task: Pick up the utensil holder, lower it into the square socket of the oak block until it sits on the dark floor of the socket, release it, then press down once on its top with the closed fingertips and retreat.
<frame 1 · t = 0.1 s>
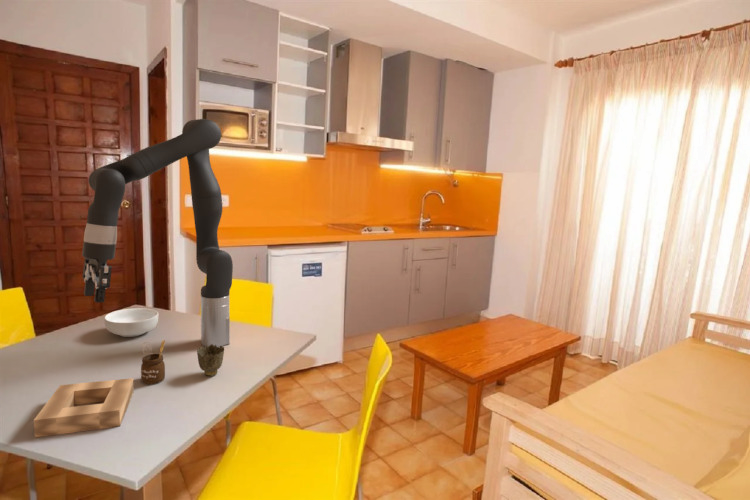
hand: (93, 298, 115), 22 cm above the table, tool pointing down, fingers open, 8 cm apart
utensil holder: (153, 380, 117), on the table
cereal bowl: (132, 333, 150), on the table
cup: (210, 375, 122), on the table
oak socket block: (89, 412, 100), on the table
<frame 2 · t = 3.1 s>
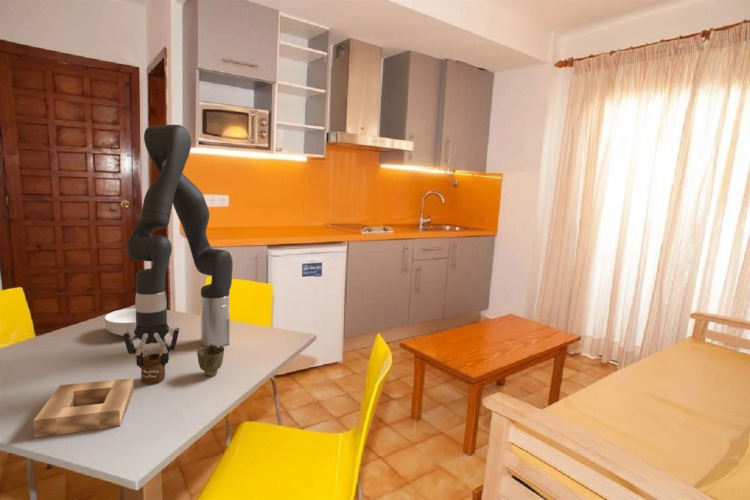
hand: (152, 365, 116), 4 cm above the table, tool pointing down, fingers closed on utensil holder, 5 cm apart
utensil holder: (153, 380, 117), on the table, touching gripper
everything else where it was.
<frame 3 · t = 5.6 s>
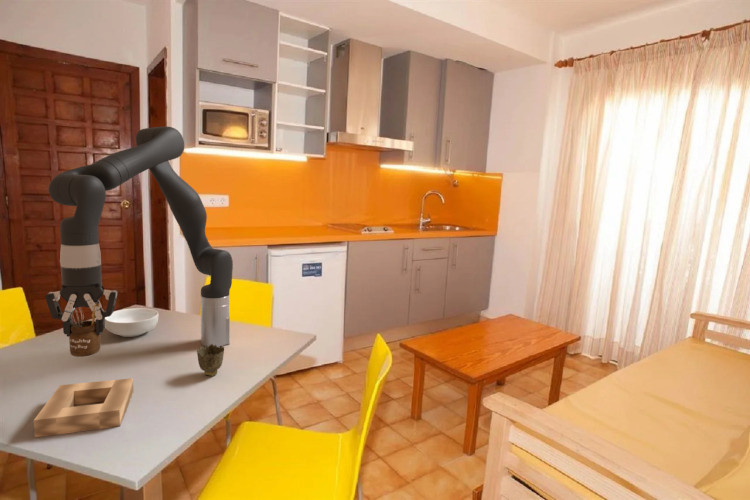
hand: (84, 334, 97), 20 cm above the table, tool pointing down, fingers closed on utensil holder, 5 cm apart
utensil holder: (86, 353, 98), point 15 cm above the table, touching gripper
everything else where it was.
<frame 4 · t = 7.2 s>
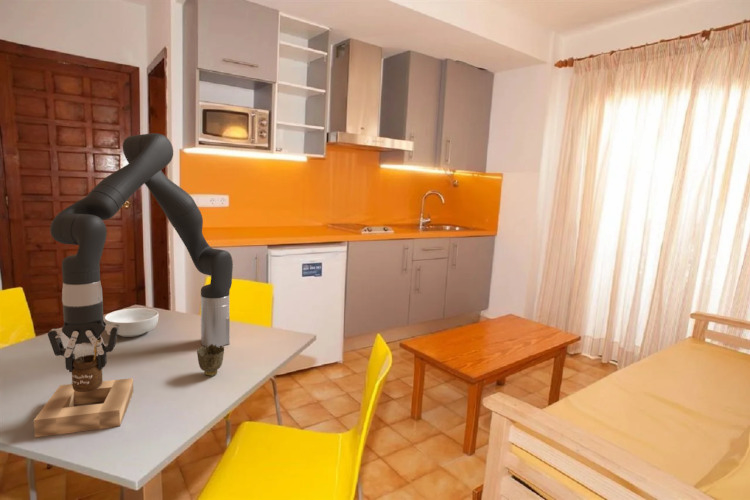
hand: (86, 369, 98), 11 cm above the table, tool pointing down, fingers closed on utensil holder, 5 cm apart
utensil holder: (88, 387, 99), point 6 cm above the table, touching gripper
everything else where it was.
when the fingers open (6 cm above the table, at t = 8.6 s): utensil holder drops 1 cm, resting on oak socket block.
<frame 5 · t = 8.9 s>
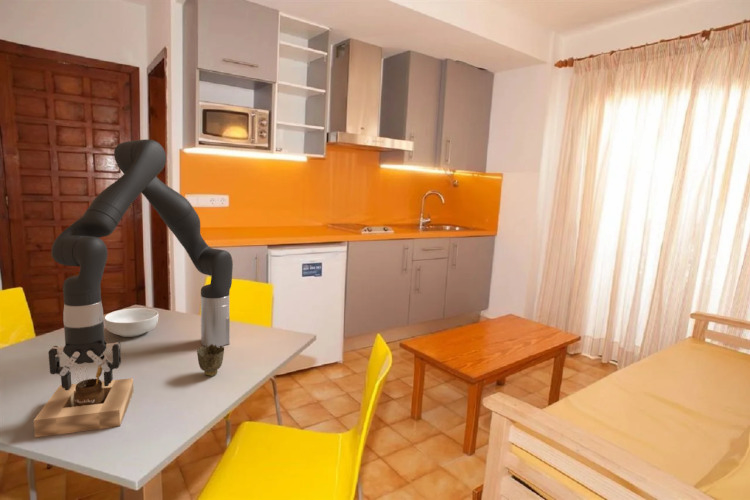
hand: (87, 386, 99), 7 cm above the table, tool pointing down, fingers open, 7 cm apart
utensil holder: (90, 411, 100), resting on oak socket block
everything else where it was.
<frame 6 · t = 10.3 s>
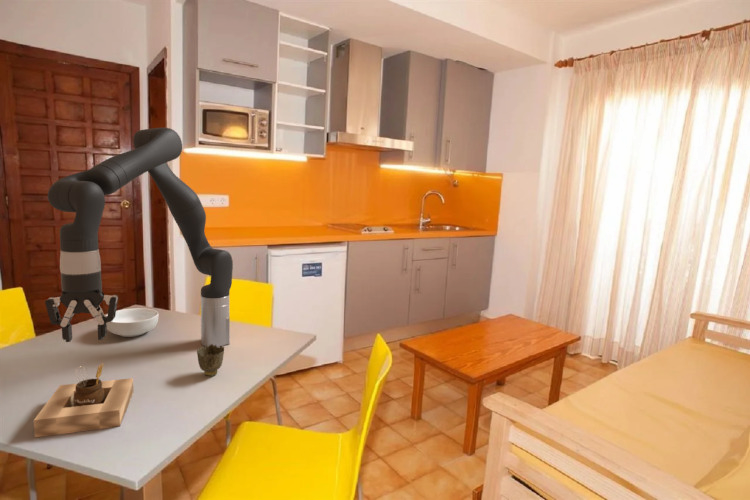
hand: (85, 339, 97), 18 cm above the table, tool pointing down, fingers open, 5 cm apart
nothing on the table moved.
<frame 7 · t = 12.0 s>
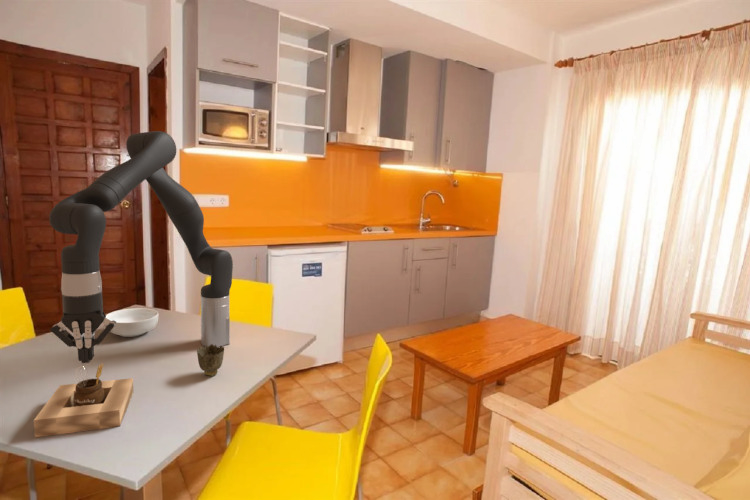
hand: (86, 361, 98), 13 cm above the table, tool pointing down, fingers closed
nothing on the table moved.
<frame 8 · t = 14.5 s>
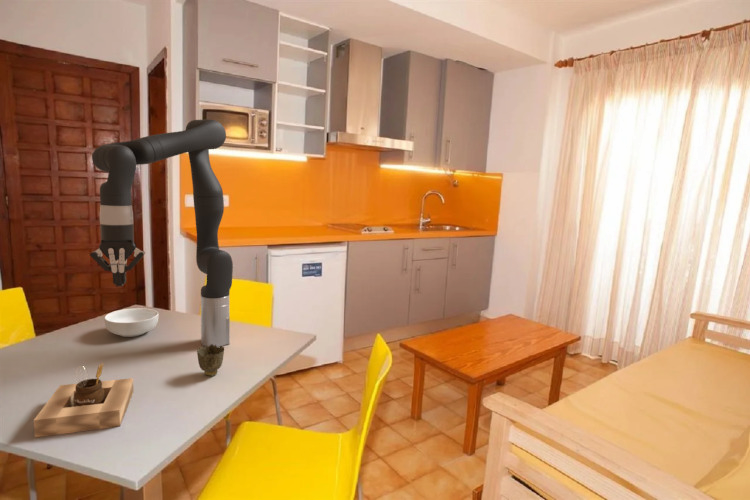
hand: (119, 285, 113), 27 cm above the table, tool pointing down, fingers closed
nothing on the table moved.
at the end: utensil holder 0.4 cm off-centre on the oak socket block, point 0.2 cm above the oak socket block's base; utensil holder tilted 0°; the gripper is holding nothing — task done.
